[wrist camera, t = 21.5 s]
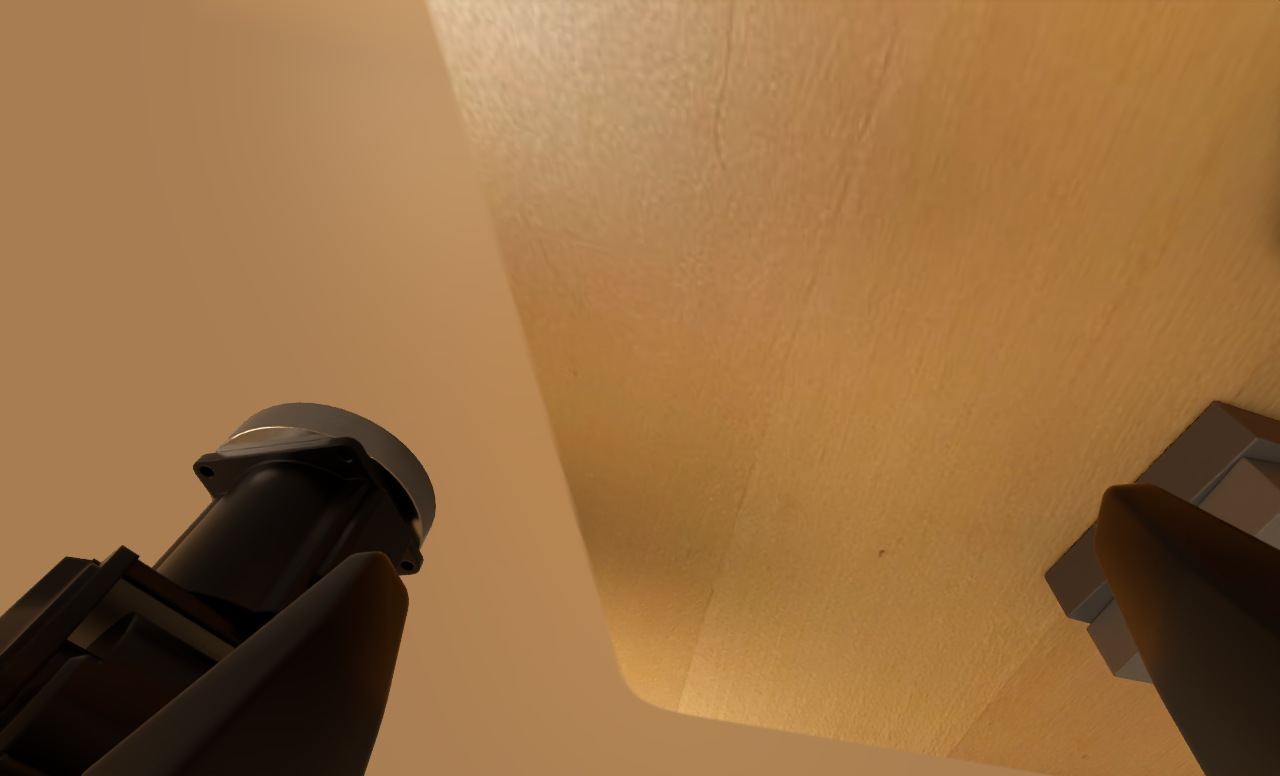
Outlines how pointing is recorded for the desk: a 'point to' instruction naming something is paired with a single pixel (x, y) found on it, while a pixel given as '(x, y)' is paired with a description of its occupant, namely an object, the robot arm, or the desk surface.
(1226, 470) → the grey books
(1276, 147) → the desk surface
